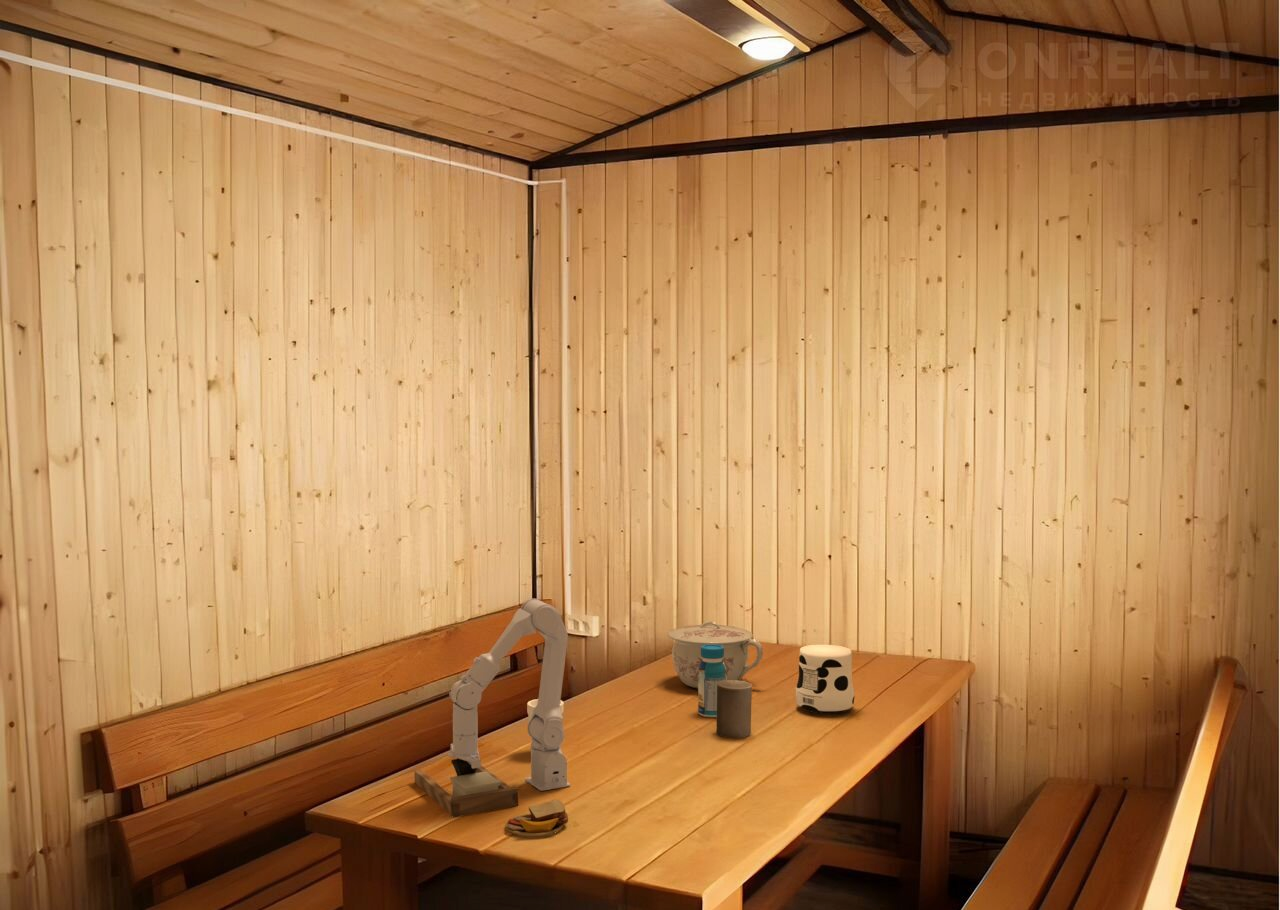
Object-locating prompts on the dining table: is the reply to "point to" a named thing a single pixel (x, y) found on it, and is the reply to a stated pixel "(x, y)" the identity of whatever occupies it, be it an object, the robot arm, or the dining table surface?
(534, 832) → the toy sandwich meal
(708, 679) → the beverage bottle
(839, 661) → the milk container
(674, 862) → the dining table surface
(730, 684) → the pillar candle
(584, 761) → the dining table surface
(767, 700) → the dining table surface
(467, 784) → the beige square block
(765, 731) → the dining table surface
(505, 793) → the bay
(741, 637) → the chamber pot
